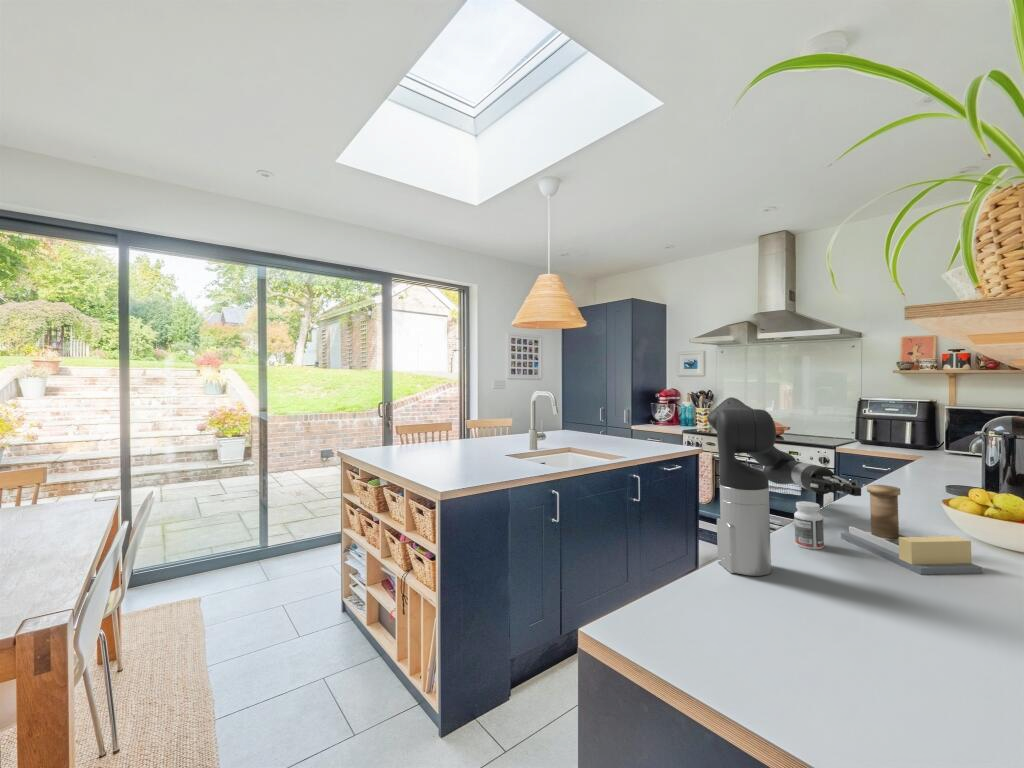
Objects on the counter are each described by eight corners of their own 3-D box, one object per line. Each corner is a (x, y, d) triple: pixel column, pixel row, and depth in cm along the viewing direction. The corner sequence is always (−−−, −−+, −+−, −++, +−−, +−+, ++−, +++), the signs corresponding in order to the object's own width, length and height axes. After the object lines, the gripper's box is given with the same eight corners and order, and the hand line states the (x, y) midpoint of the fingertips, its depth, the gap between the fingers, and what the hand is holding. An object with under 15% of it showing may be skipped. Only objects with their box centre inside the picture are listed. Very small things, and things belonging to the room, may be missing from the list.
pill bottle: (815, 541, 109) (814, 500, 109) (829, 550, 103) (828, 506, 103) (790, 541, 109) (789, 500, 110) (803, 550, 104) (801, 506, 104)
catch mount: (921, 574, 89) (919, 545, 89) (840, 537, 111) (840, 514, 111) (982, 573, 89) (981, 544, 89) (889, 536, 111) (889, 513, 111)
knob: (882, 544, 102) (880, 490, 102) (862, 535, 108) (860, 485, 108) (909, 543, 102) (907, 490, 102) (887, 535, 108) (885, 484, 108)
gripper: (789, 465, 130) (831, 477, 113) (835, 464, 130) (884, 476, 113) (790, 491, 130) (832, 507, 113) (836, 490, 130) (885, 506, 113)
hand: (858, 492), depth 113 cm, fingers closed
